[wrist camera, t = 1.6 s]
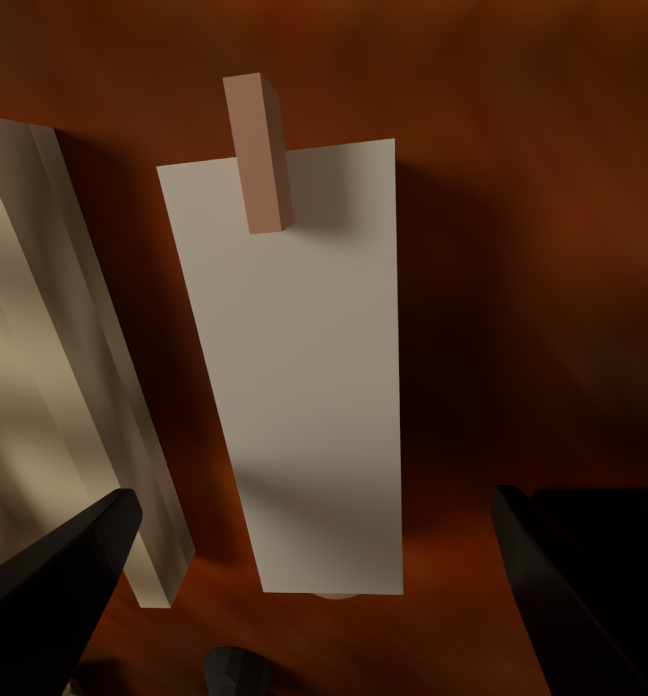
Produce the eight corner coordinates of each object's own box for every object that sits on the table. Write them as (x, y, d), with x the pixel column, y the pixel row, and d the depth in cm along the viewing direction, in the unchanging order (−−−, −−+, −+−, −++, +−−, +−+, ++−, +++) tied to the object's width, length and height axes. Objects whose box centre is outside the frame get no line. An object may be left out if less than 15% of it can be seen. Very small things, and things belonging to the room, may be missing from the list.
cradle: (-202, 161, 13) (-347, 156, 11) (53, 127, 12) (-35, 112, 9) (29, 549, 21) (-19, 603, 19) (195, 550, 20) (170, 608, 17)
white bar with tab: (223, 138, 12) (94, 96, 6) (378, 118, 11) (401, 52, 6) (293, 522, 19) (264, 677, 13) (392, 522, 18) (409, 683, 12)
